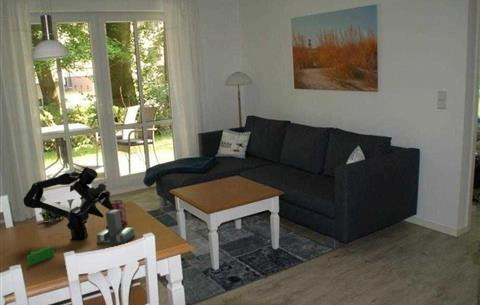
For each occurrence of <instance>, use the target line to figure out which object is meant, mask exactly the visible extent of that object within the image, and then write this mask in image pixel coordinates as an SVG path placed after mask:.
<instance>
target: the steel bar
mask: <svg viewBox="0 0 480 305" xmlns="http://www.w3.org/2000/svg"><path fill="white" fill-rule="evenodd" d="M105 218H106V226H107V227H108V234H109V239H116V235H117V234H119V233H120V232H121V231H123V226H122V225H123V224H121V216H120V210H110V211H107V212H105Z"/></svg>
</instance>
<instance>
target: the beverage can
mask: <svg viewBox="0 0 480 305" xmlns="http://www.w3.org/2000/svg"><path fill="white" fill-rule="evenodd" d="M110 202H111V204H112V206H113V208H114V210H120V216H121V224H122V225H124V224H125V223H126V222H127V221H128V220H127V213H126V205H125V203H124V201H123V200H122V199H115V200H110ZM108 210H109V209H108ZM109 211H110V210H109Z"/></svg>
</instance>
